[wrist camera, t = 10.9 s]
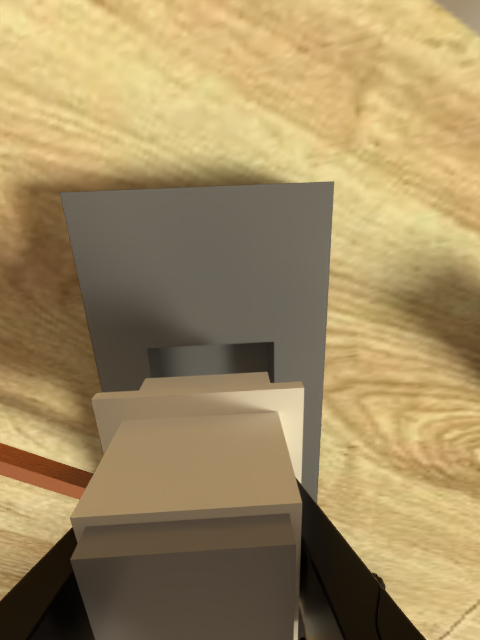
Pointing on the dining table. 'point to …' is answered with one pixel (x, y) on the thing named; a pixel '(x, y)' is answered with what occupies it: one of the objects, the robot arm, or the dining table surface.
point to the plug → (194, 511)
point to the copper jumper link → (43, 472)
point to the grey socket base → (208, 286)
